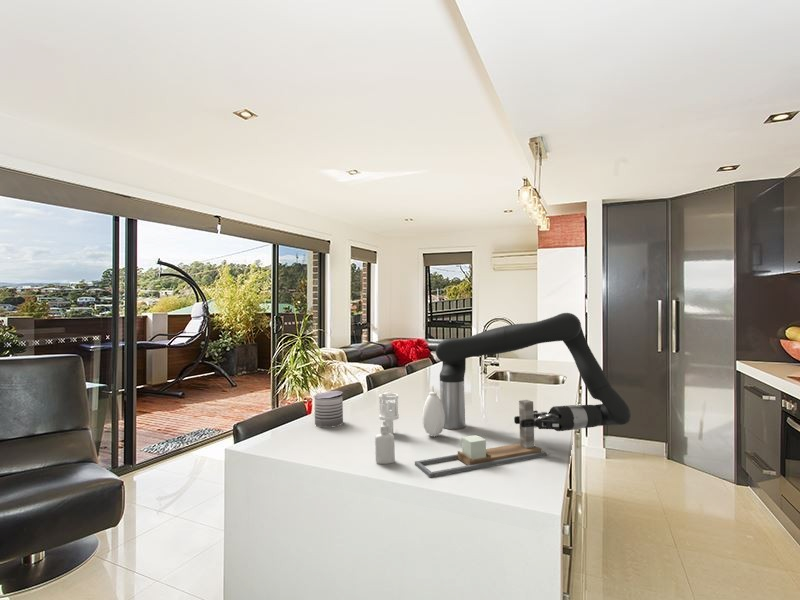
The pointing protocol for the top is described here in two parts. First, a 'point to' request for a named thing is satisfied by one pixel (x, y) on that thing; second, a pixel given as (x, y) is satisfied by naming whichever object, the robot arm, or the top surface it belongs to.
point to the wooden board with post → (513, 450)
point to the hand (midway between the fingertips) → (518, 421)
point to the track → (469, 467)
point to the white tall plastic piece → (389, 409)
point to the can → (328, 409)
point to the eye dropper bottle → (384, 446)
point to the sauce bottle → (433, 415)
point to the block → (474, 447)
